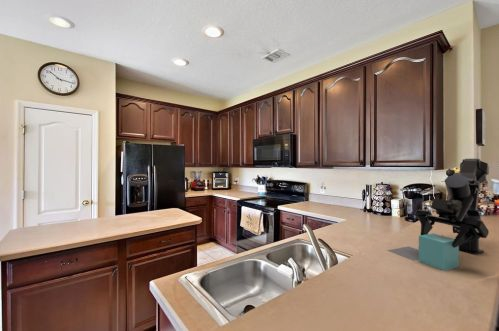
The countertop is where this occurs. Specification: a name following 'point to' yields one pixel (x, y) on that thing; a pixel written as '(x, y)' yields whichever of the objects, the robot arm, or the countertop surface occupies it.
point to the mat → (407, 252)
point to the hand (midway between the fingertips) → (436, 241)
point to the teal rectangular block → (438, 251)
